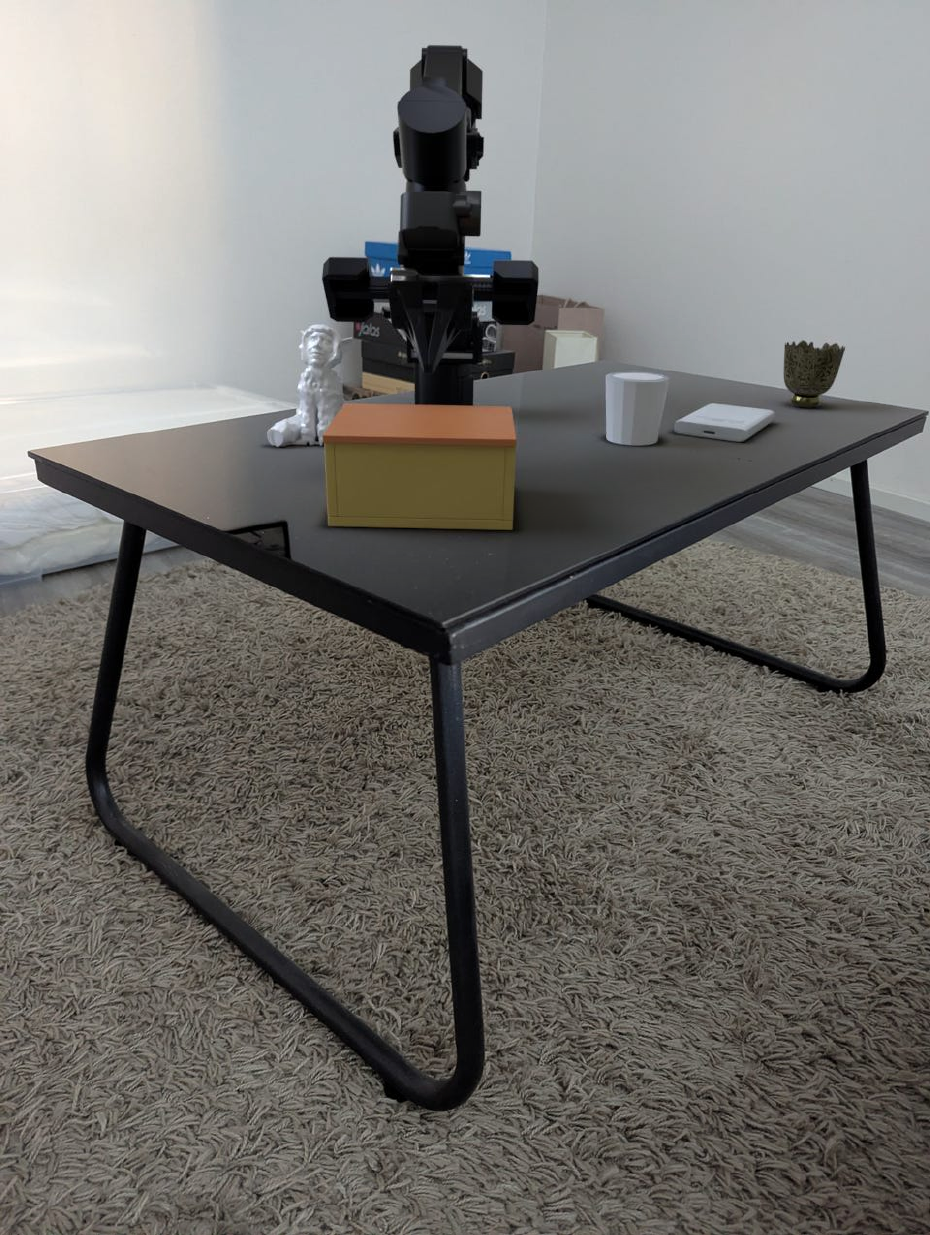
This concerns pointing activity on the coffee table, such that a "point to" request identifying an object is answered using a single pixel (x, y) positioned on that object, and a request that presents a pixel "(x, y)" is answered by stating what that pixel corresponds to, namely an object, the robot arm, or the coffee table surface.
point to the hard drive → (724, 422)
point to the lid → (423, 425)
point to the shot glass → (634, 406)
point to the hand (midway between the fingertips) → (428, 370)
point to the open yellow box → (420, 486)
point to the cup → (810, 371)
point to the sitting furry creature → (314, 389)
